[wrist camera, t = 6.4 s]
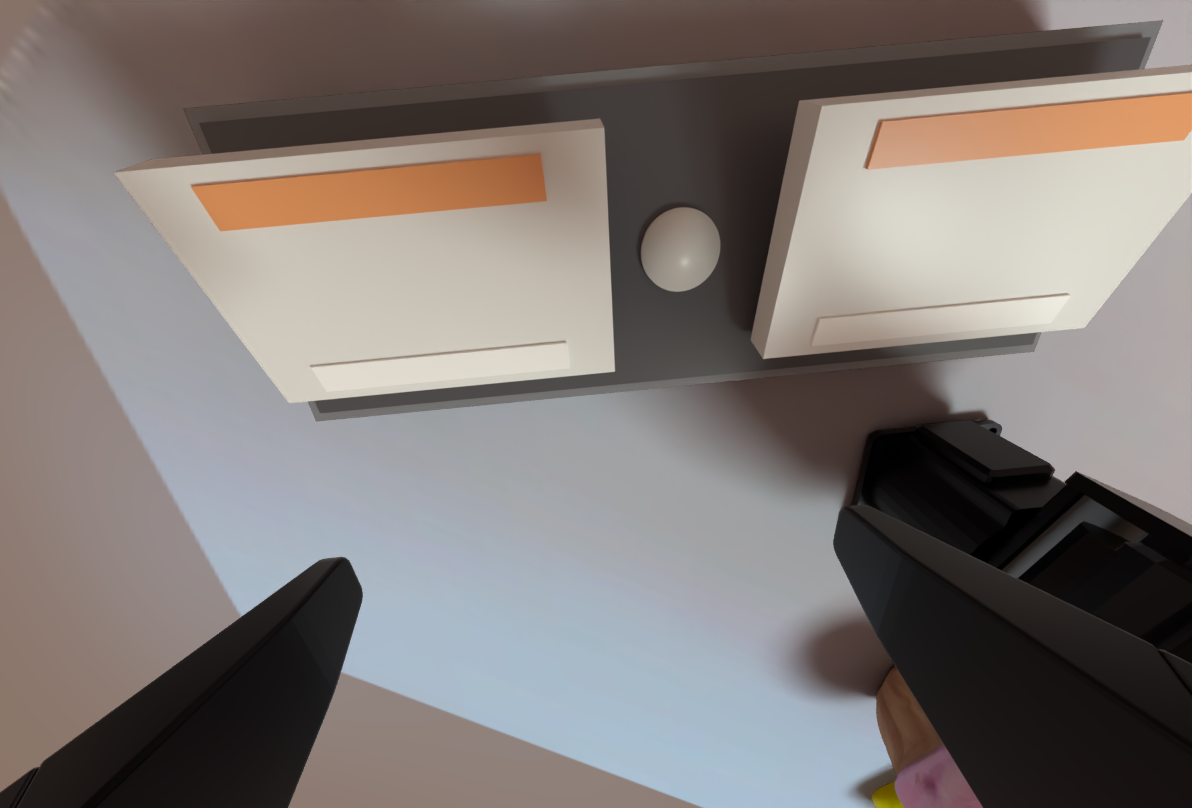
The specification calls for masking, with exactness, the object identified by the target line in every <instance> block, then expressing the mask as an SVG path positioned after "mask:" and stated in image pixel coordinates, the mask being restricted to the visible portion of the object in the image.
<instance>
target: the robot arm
mask: <svg viewBox="0 0 1192 808" xmlns="http://www.w3.org/2000/svg"><path fill="white" fill-rule="evenodd" d="M1001 431H1002V427H1001V425H1000V424H998V423H996V422H994V421H992V420H979V421H971V420H965V421H955V422H945V423H935V424H924V425H921V426H918V427H908V428H898V429H888V430H879V431H875V432H873V433H872V434H871V435H870V436H869V437H868V439H867V443H866V447H865V451H864V456H863V460H862V464H861V469H860V473H859V477H858V482H857V486H856V490H855V495H854V499H853V503H852V506H845V507H843V508H842V509H841V510H840V512H839V516H838V521H837V525H836V530H835V535H834V540H833V545H834V550H835V553H836V555H837V557H838V559H839V561H840V563H841V565H842V567H843V569H844V571H845V573H846V575H847V577H848V579H849V581H850V583H851V585H852V588H853V590H854V592H855V594H856V596H857V598H858V600H859V602H860V604H861V606H862V608H863V610H864V612H865V614H866V616H867V618H868V620H869V622H870V624H871V626H872V627H873V629H874V631H875V633H876V635H877V637H878V638H879V640H880V642H881V644H882V645H883V647H884V649H885V650H886V652H887V654H888V655H889V657H890V658H891V660H892V662H893V663H894V665H895V666H896V668H897V670H898V671H899V673H900V675H901V676H902V678H903V679H904V681H905V683H906V684H907V686H908V688H909V689H910V691H911V692H912V694H913V696H914V697H915V699H916V700H917V702H918V704H919V705H920V707H921V709H922V710H923V712H924V713H925V715H926V717H927V718H928V720H929V721H930V723H931V725H932V726H933V728H934V730H935V731H936V733H937V734H938V736H939V738H940V739H941V741H942V743H943V744H944V746H945V747H946V749H947V751H948V752H949V754H950V755H951V757H952V759H953V760H954V762H955V764H956V765H957V767H958V768H959V770H960V772H961V773H962V775H963V776H964V778H965V780H966V781H967V783H968V785H969V786H970V788H971V789H972V791H973V793H974V794H975V796H976V798H977V799H978V801H979V802H980V804H981V806H982V807H983V808H1192V525H1191V524H1189V523H1187V522H1185V521H1183V520H1181V519H1179V518H1177V517H1175V516H1173V515H1171V514H1169V513H1167V512H1165V511H1163V510H1161V509H1159V508H1157V507H1155V506H1153V505H1151V504H1149V503H1147V502H1144V501H1142V500H1140V499H1138V498H1135V497H1133V496H1131V495H1129V494H1126V493H1124V492H1122V491H1120V490H1117V489H1115V488H1113V487H1111V486H1108V485H1106V484H1104V483H1101V482H1099V481H1097V480H1095V479H1092V478H1090V477H1088V476H1086V475H1083V474H1081V473H1079V472H1077V471H1076V472H1075V473H1073V474H1072V475H1071V476H1070V477H1069V478H1068V479H1067V480H1066V481H1065V483H1064V482H1062V481H1060V480H1059V479H1057V478H1055V477H1053V473H1054V471H1055V469H1054V468H1053V467H1052V466H1051V464H1050V463H1048V462H1046V461H1044V460H1042V459H1041V458H1039V457H1037V456H1035V455H1033V454H1031V453H1030V452H1028V451H1026V450H1024V449H1022V448H1021V447H1019V446H1017V445H1015V444H1013V443H1011V442H1010V441H1008V440H1006V439H1004V438H1002V437H1000V434H1001ZM880 439H881V441H880V442H879V443H878V441H879V440H880ZM362 597H363V592H362V587H361V585H360V583H359V581H358V579H357V576H356V574H355V572H354V570H353V568H352V565H351V563H350V562H349V560H348V559H346V558H345V557H336V558H326V559H322V560H319V561H318V562H316V563H315V564H313V565H312V566H311V567H309V568H308V569H307V570H305V571H304V572H302V573H301V574H300V575H298V576H297V577H296V578H294V579H293V580H291V581H290V582H289V583H287V584H286V585H285V586H283V587H282V588H280V589H279V590H278V591H276V592H275V593H274V594H272V595H271V596H269V597H268V598H267V599H265V600H264V601H263V602H261V603H260V604H258V605H257V606H256V607H254V608H253V609H252V610H250V611H249V612H247V613H246V614H245V615H243V616H242V617H241V618H239V619H238V620H236V621H235V622H234V623H232V624H231V625H230V626H228V627H227V628H225V629H224V630H223V631H221V632H220V633H219V634H217V635H216V636H214V637H213V638H212V639H210V640H209V641H208V642H206V643H205V644H203V645H202V646H201V647H199V648H198V649H197V650H195V651H194V652H192V653H191V654H190V655H189V656H187V657H186V658H184V659H183V660H182V661H180V662H179V663H177V664H176V665H175V666H173V667H172V668H171V669H169V670H168V671H166V672H165V673H164V674H162V675H161V676H160V677H158V678H157V679H156V680H154V681H153V682H151V683H150V684H149V685H147V686H146V687H144V688H143V689H142V690H140V691H139V692H138V693H136V694H135V695H133V696H132V697H131V698H129V699H128V700H127V701H125V702H124V703H122V704H121V705H120V706H119V707H117V708H116V709H114V710H113V711H111V712H110V713H109V714H107V715H106V716H105V717H103V718H102V719H101V720H99V721H98V722H96V723H95V724H94V725H92V726H91V727H89V728H88V729H87V730H85V731H84V732H83V733H81V734H80V735H78V736H77V737H76V738H74V739H73V740H72V741H70V742H69V743H67V744H66V745H65V746H63V747H62V748H61V749H59V750H58V751H57V752H55V753H54V754H52V755H51V756H50V757H48V758H47V759H46V760H44V761H43V762H42V764H41V765H40V767H36V768H33V769H32V770H30V771H29V772H27V773H26V774H25V775H23V776H22V777H21V778H19V779H18V780H16V781H15V782H14V783H12V784H11V785H10V786H8V787H7V788H6V789H4V790H3V791H1V792H0V808H288V806H289V804H290V801H291V799H292V796H293V793H294V792H295V789H296V786H297V784H298V782H299V779H300V777H301V774H302V772H303V769H304V767H305V764H306V762H307V759H308V757H309V754H310V752H311V749H312V747H313V745H314V742H315V739H316V737H317V735H318V732H319V730H320V727H321V725H322V722H323V720H324V717H325V715H326V712H327V710H328V707H329V705H330V702H331V699H332V697H333V694H334V692H335V689H336V685H337V683H338V680H339V677H340V673H341V670H342V667H343V663H344V660H345V657H346V653H347V650H348V647H349V643H350V640H351V637H352V633H353V630H354V627H355V623H356V620H357V617H358V613H359V610H360V607H361V603H362Z"/></svg>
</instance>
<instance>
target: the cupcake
mask: <svg viewBox="0 0 1192 808" xmlns="http://www.w3.org/2000/svg"><path fill="white" fill-rule="evenodd" d="M876 699H877V702H876V714H877V722H878V726H879V730H880V733H881V736H882V739H883V742H884V744H885V746H886V749H887V752H888V755H889V757H890V760H891V762H892V765H893V768H894V770H895V773H896V774H897V778H896V779H895V783H894V784H895V790H896V794H897V796H898V798H899V800H900V802H901V803H902V805H903V807H904V808H983V807H982V806H981V804H980V802H979V801H978V799H977V798H976V796H975V794H974V793H973V791H972V789H971V788H970V786H969V785H968V783H967V781H966V780H965V778H964V776H963V775H962V773H961V772H960V770H959V768H958V767H957V765H956V764H955V762H954V760H953V759H952V757H951V755H950V754H949V752H948V751H947V749H946V747H945V746H944V744H943V743H942V741H941V739H940V738H939V736H938V734H937V733H936V731H935V730H934V728H933V726H932V725H931V723H930V721H929V720H928V718H927V717H926V715H925V713H924V712H923V710H922V709H921V707H920V705H919V704H918V702H917V700H916V699H915V697H914V696H913V694H912V692H911V691H910V689H909V688H908V686H907V684H906V683H905V681H904V679H903V678H902V676H901V675H900V673H899V671H898V670H897V668H896V667H894V668H893V669H891V671H890V672H889V674H888V675H887V677H886V678H885V680H884V682H883V684H882V686H881V688H880V689H879V691H878V693H877V697H876Z"/></svg>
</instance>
